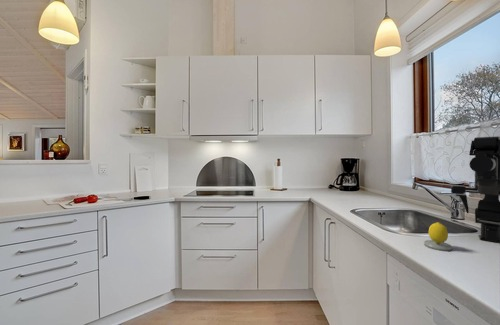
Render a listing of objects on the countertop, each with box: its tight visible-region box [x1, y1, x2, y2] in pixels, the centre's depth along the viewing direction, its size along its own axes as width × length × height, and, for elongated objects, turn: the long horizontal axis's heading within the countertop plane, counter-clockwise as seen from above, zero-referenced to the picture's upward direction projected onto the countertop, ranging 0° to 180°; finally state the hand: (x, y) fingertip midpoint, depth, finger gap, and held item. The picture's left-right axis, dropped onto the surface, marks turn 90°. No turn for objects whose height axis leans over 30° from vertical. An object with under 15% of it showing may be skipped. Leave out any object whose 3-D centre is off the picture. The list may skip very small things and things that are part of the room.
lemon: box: [428, 221, 449, 244], centre depth 86 cm, size 6×6×8 cm
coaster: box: [423, 239, 453, 252], centre depth 86 cm, size 8×8×1 cm
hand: (485, 215), depth 84 cm, fingers open, 9 cm apart
